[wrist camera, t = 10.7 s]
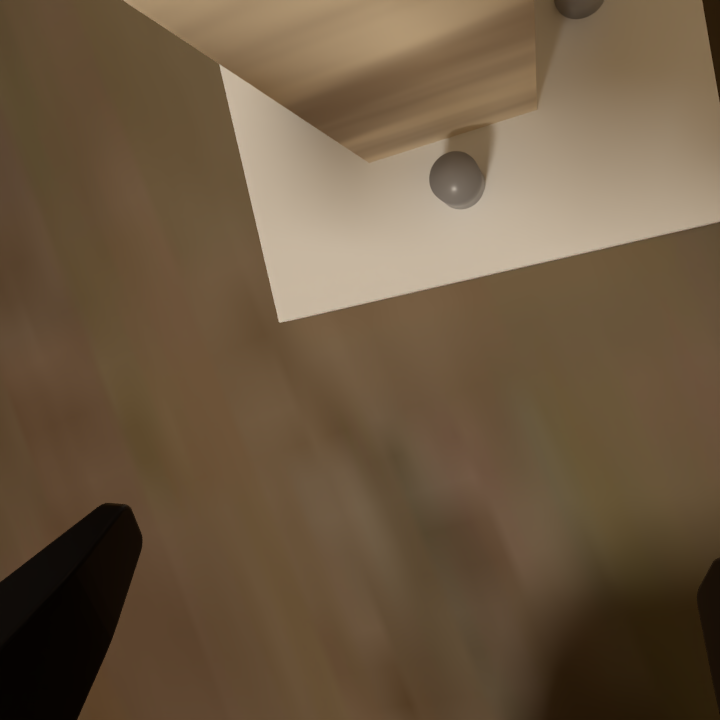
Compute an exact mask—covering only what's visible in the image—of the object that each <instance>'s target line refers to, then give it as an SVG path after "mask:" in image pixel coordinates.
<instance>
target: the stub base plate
mask: <svg viewBox="0 0 720 720" xmlns="http://www.w3.org/2000/svg"><path fill="white" fill-rule="evenodd" d="M534 9H535V48H536V88H537V110H535V111H532V112H529V113H525V114H522V115H519V116H516V117H513V118H510V119H506V120H503V121H500V122H497V123H494V124H491V125H487V126H484V127H481V128H478V129H475V130H472V131H468V132H465V133H462V134H459V135H456V136H453V137H450V138H446V139H443V140H440V141H437V142H434V143H431V144H427V145H424V146H421V147H418V148H415V149H412V150H408V151H405V152H402V153H399V154H396V155H393V156H389V157H386V158H383V159H380V160H377V161H374V162H371V163H368V162H367V161H365V160H364V159H362V158H361V157H359V156H358V155H356V154H355V153H353V152H352V151H350V150H349V149H347V148H345V147H344V146H342V145H341V144H339V143H338V142H336V141H335V140H333V139H332V138H330V137H329V136H327V135H326V134H324V133H323V132H321V131H320V130H318V129H317V128H315V127H314V126H312V125H311V124H309V123H308V122H306V121H305V120H303V119H302V118H300V117H299V116H297V115H296V114H294V113H293V112H291V111H290V110H288V109H287V108H285V107H284V106H282V105H280V104H279V103H277V102H276V101H274V100H273V99H271V98H270V97H268V96H267V95H265V94H264V93H262V92H261V91H259V90H258V89H256V88H255V87H253V86H252V85H250V84H249V83H247V82H246V81H244V80H243V79H241V78H240V77H238V76H237V75H235V74H234V73H232V72H231V71H229V70H228V69H226V68H225V67H223V66H222V65H220V64H219V65H220V70H221V74H222V78H223V82H224V87H225V91H226V95H227V100H228V104H229V108H230V113H231V117H232V121H233V126H234V130H235V134H236V139H237V143H238V147H239V151H240V156H241V160H242V164H243V169H244V173H245V177H246V182H247V186H248V190H249V195H250V199H251V203H252V208H253V212H254V216H255V220H256V225H257V229H258V233H259V238H260V242H261V246H262V251H263V255H264V259H265V264H266V268H267V272H268V277H269V281H270V285H271V289H272V294H273V298H274V302H275V307H276V311H277V315H278V320H279V323H280V322H285V321H291V320H296V319H300V318H305V317H309V316H313V315H318V314H322V313H326V312H331V311H335V310H340V309H344V308H348V307H353V306H357V305H361V304H366V303H370V302H374V301H379V300H383V299H387V298H392V297H396V296H400V295H405V294H409V293H413V292H418V291H422V290H426V289H431V288H435V287H439V286H444V285H448V284H453V283H457V282H461V281H466V280H470V279H474V278H479V277H483V276H487V275H492V274H496V273H500V272H505V271H509V270H513V269H518V268H522V267H526V266H531V265H535V264H539V263H544V262H548V261H552V260H557V259H561V258H566V257H570V256H574V255H579V254H583V253H587V252H592V251H596V250H600V249H605V248H609V247H613V246H618V245H622V244H626V243H631V242H635V241H639V240H644V239H648V238H652V237H657V236H661V235H665V234H670V233H674V232H678V231H683V230H687V229H692V228H696V227H700V226H705V225H709V224H713V223H718V222H720V102H719V96H718V90H717V84H716V79H715V73H714V67H713V61H712V55H711V49H710V43H709V38H708V32H707V26H706V20H705V14H704V8H703V2H702V0H534Z"/></svg>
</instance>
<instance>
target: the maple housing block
mask: <svg viewBox="0 0 720 720" xmlns="http://www.w3.org/2000/svg"><path fill="white" fill-rule="evenodd" d="M123 1H125V2H126V3H128V4H129V5H131V6H132V7H134V8H135V9H137V10H138V11H140V12H141V13H143V14H144V15H146V16H147V17H149V18H150V19H152V20H153V21H155V22H157V23H158V24H160V25H161V26H163V27H164V28H166V29H167V30H169V31H170V32H172V33H173V34H175V35H176V36H178V37H179V38H181V39H182V40H184V41H185V42H187V43H188V44H190V45H191V46H193V47H194V48H196V49H197V50H199V51H200V52H202V53H203V54H205V55H206V56H208V57H209V58H211V59H212V60H214V61H215V62H217V63H218V64H220V65H222V66H223V67H225V68H226V69H228V70H229V71H231V72H232V73H234V74H235V75H237V76H238V77H240V78H241V79H243V80H244V81H246V82H247V83H249V84H250V85H252V86H253V87H255V88H256V89H258V90H259V91H261V92H262V93H264V94H265V95H267V96H268V97H270V98H271V99H273V100H274V101H276V102H277V103H279V104H280V105H282V106H284V107H285V108H287V109H288V110H290V111H291V112H293V113H294V114H296V115H297V116H299V117H300V118H302V119H303V120H305V121H306V122H308V123H309V124H311V125H312V126H314V127H315V128H317V129H318V130H320V131H321V132H323V133H324V134H326V135H327V136H329V137H330V138H332V139H333V140H335V141H336V142H338V143H339V144H341V145H342V146H344V147H345V148H347V149H349V150H350V151H352V152H353V153H355V154H356V155H358V156H359V157H361V158H362V159H364V160H365V161H367V162H368V163H371V162H374V161H377V160H380V159H383V158H386V157H389V156H393V155H396V154H399V153H402V152H405V151H408V150H412V149H415V148H418V147H421V146H424V145H427V144H431V143H434V142H437V141H440V140H443V139H446V138H450V137H453V136H456V135H459V134H462V133H465V132H468V131H472V130H475V129H478V128H481V127H484V126H487V125H491V124H494V123H497V122H500V121H503V120H506V119H510V118H513V117H516V116H519V115H522V114H525V113H529V112H532V111H535V110H537V88H536V48H535V9H534V0H123Z"/></svg>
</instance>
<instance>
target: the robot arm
mask: <svg viewBox="0 0 720 720" xmlns="http://www.w3.org/2000/svg"><path fill="white" fill-rule="evenodd" d="M141 549H142V534H141V531H140V529H139V526H138V524H137V521H136V519H135V516H134V514H133V512H132V509H131V508H130V507H129V506H128V505H125V504H115V503H105V504H102V505H100V506H99V507H97V508H96V509H95V510H93V511H92V512H91V513H89V514H88V515H87V516H86V517H84V518H83V519H82V520H80V521H79V522H78V523H76V524H75V525H74V526H73V527H71V528H70V529H69V530H67V531H66V532H65V533H63V534H62V535H61V536H60V537H58V538H57V539H56V540H54V541H53V542H52V543H50V544H49V545H48V546H47V547H45V548H44V549H43V550H41V551H40V552H39V553H37V554H36V555H35V556H34V557H32V558H31V559H30V560H28V561H27V562H26V563H25V564H23V565H22V566H21V567H19V568H18V569H17V570H15V571H14V572H13V573H12V574H10V575H9V576H8V577H6V578H5V579H4V580H2V581H1V582H0V720H77V719H78V717H79V714H80V712H81V710H82V707H83V705H84V703H85V701H86V698H87V696H88V694H89V691H90V689H91V687H92V685H93V682H94V680H95V678H96V676H97V673H98V671H99V669H100V666H101V664H102V662H103V660H104V657H105V655H106V653H107V650H108V648H109V645H110V643H111V640H112V638H113V635H114V632H115V629H116V627H117V624H118V621H119V617H120V614H121V611H122V608H123V605H124V602H125V599H126V596H127V593H128V590H129V586H130V583H131V580H132V577H133V574H134V571H135V568H136V565H137V562H138V559H139V555H140V552H141ZM697 604H698V610H699V615H700V620H701V625H702V630H703V635H704V640H705V645H706V650H707V655H708V660H709V665H710V670H711V675H712V680H713V685H714V690H715V695H716V700H717V704H718V708H719V713H720V558H717V559H715V560H714V561H713V563H712V564H711V566H710V568H709V570H708V572H707V574H706V576H705V578H704V579H703V581H702V583H701V585H700V587H699V589H698V594H697Z"/></svg>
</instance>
